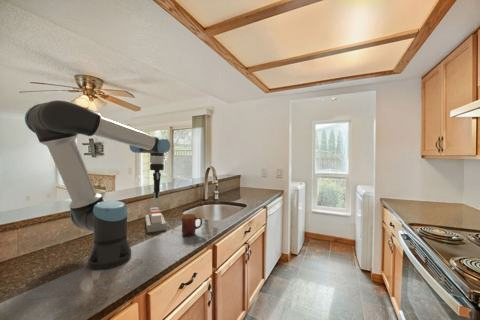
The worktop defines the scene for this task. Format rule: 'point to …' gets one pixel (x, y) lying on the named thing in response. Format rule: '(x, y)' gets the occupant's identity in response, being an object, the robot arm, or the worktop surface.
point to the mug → (189, 224)
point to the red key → (155, 211)
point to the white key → (156, 218)
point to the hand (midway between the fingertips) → (156, 203)
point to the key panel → (156, 226)
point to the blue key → (153, 209)
